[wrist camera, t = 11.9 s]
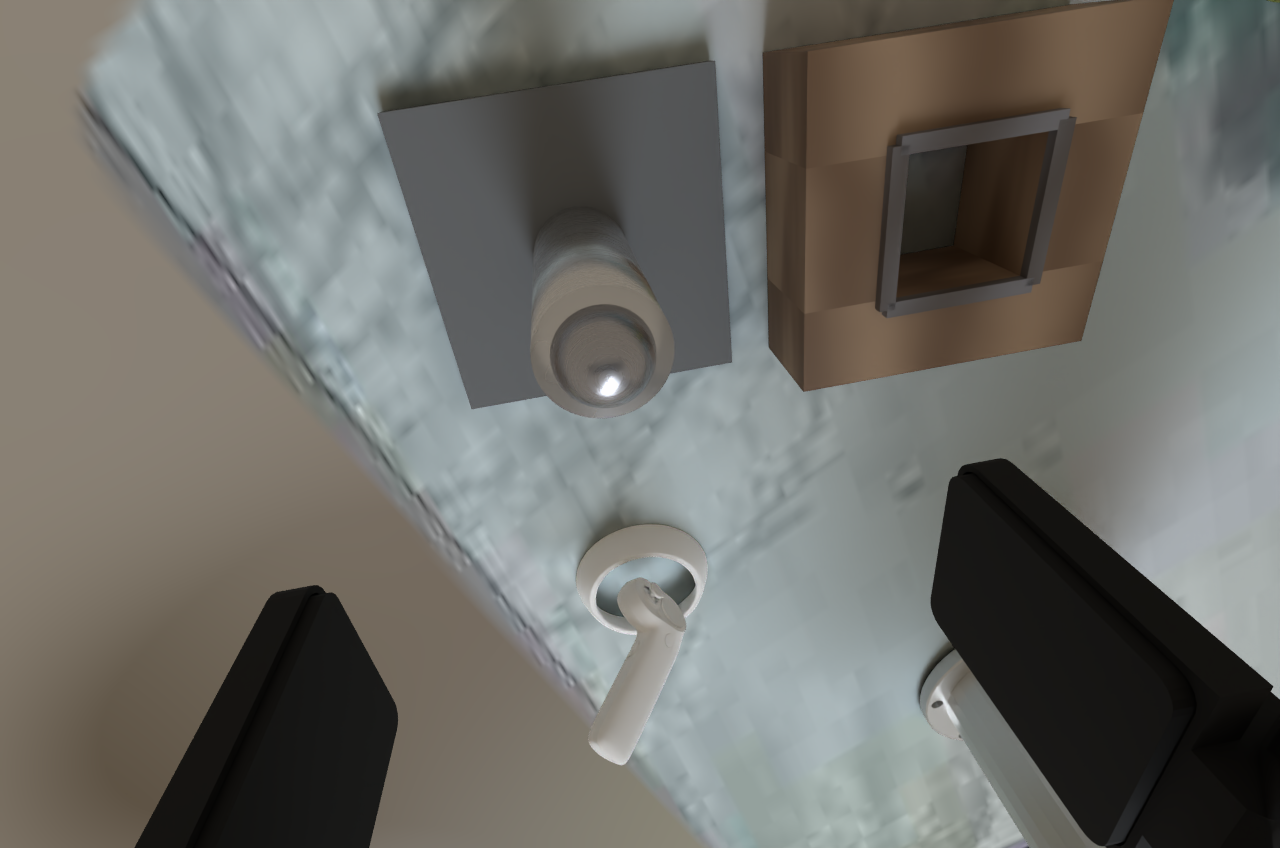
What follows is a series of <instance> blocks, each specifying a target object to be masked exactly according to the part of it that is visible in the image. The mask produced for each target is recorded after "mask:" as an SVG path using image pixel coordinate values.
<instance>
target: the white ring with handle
mask: <svg viewBox="0 0 1280 848" xmlns="http://www.w3.org/2000/svg"><path fill="white" fill-rule="evenodd" d="M644 557H662V558H668V559H671V560H674V561H676V562H678V563H680V564H682V565H683V566H685V567H686V568H687V569H688V570H689V571H690V572H691V574H692V576H693V577H694V580H695V584H696V585H695V588H694V590H693V591H692V592H691V593H690V595H689V596H688V597H687V598H686V599H685V600H683V601H682V602H681V603H680V604H678V605H677V604H676V603H675V601H674V600H673V599H672V598H671V597H670V596H669V595H667V594H666V593H664V592H663V591H662V590H661V588H660V587H659V586H658V585H657V584H656V583H650V582H649V581H648V580H646V579H644V578H636V579H634V580H631V581H629V582H627V583H626V584H625V585H624V586H623V587H622V589H621V590H620V592H619V594H618V596H617V602H618V606H619V608H620V610H621V612H622V614H623V616H624V617H620V616H616V615H613V614H609V613H607V612H605V611H603V610H601V609H600V608H599V607H597V605H596V593H597V590H598V587H599V585H600V583H601V582H602V580H603V579H604V577H605V576H606V575H607V574H608V573H610V572H611V571H612V570H613V569H615V568H616V567H618V566H619V565H621V564H624V563H626V562H628V561H631V560H634V559H638V558H644ZM707 567H708V563H707V559H706V555H705V552H704V551H703V549H702V547H701V546H700V544H699V543H698V542H697V541H696V540H695V539H694V538H693V537H692V536H690V535H688V534H687V533H685V532H684V531H681V530H679V529H676V528H674V527H670V526H665V525H659V524H643V525H636V526H630V527H627V528H623V529H620V530H617V531H615V532H613V533H611V534H609V535H607V536H605V537H604V538H602V539H601V540H599V541H598V542H596V543H595V544H594V545H593V546H592V547H591V548H590V549H589V550H588V551H587V553H586V554H585V555H584V557H583V558H582V560H581V562H580V564H579V567H578V569H577V575H576V585H577V591H578V593H579V595H580V598H581V600H582V602H583V603H584V605H585V606H586V608H587V609H588V610H589V611H590V613H591V614H592V615H593V616H594V617H595V618H596V619H597V620H598V621H599V622H600V623H601V624H603V625H604V626H605V627H607V628H609V629H611V630H613V631H616V632H620V633H623V634H630V635H637V637H636V640H635V642H634V644H633V646H632V648H631V650H630V652H629V654H628V656H627V658H626V660H625V662H624V663H623V665H622V667H621V669H620V671H619V673H618V675H617V677H616V679H615V681H614V683H613V685H612V687H611V689H610V691H609V693H608V695H607V697H606V699H605V701H604V702H603V704H602V706H601V708H600V710H599V712H598V714H597V716H596V718H595V720H594V723H593V725H592V727H591V729H590V732H589V736H588V741H589V744H590V746H591V747H592V748H593V749H594V750H595V751H596V752H597V753H598V754H599V755H601V756H602V757H603V758H605V759H607V760H609V761H611V762H614V763H616V764H619V765H623V764H625V763H626V762H627V761H628V759H629V758H630V756H631V754H632V752H633V750H634V748H635V746H636V744H637V742H638V740H639V738H640V736H641V734H642V731H643V729H644V727H645V725H646V723H647V721H648V718H649V716H650V714H651V712H652V710H653V708H654V705H655V703H656V701H657V699H658V697H659V694H660V692H661V690H662V688H663V686H664V684H665V681H666V679H667V677H668V675H669V673H670V671H671V668H672V666H673V664H674V662H675V660H676V657H677V655H678V652H679V649H680V645H681V641H682V637H683V635H684V632H685V630H686V621H685V618H686V617H688V616H689V615H690V614H691V613H692V611H693V610H694V609H695V608H696V606H697V604H698V602H699V601H700V599H701V596H702V594H703V591H704V587H705V583H706V579H707Z"/></svg>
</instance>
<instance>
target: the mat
mask: <svg viewBox="0 0 1280 848" xmlns="http://www.w3.org/2000/svg"><path fill="white" fill-rule="evenodd" d="M377 114H378V117H379V120H380V123H381V127H382V130H383V133H384V136H385V139H386V142H387V145H388V148H389V152H390V155H391V158H392V161H393V164H394V167H395V170H396V174H397V177H398V180H399V183H400V186H401V189H402V192H403V195H404V199H405V202H406V205H407V208H408V211H409V214H410V217H411V221H412V224H413V227H414V230H415V233H416V236H417V239H418V242H419V246H420V249H421V252H422V255H423V258H424V261H425V264H426V268H427V271H428V274H429V277H430V280H431V283H432V286H433V289H434V293H435V296H436V299H437V302H438V305H439V308H440V311H441V315H442V318H443V321H444V324H445V327H446V330H447V333H448V336H449V340H450V343H451V346H452V349H453V352H454V355H455V358H456V362H457V365H458V368H459V371H460V374H461V377H462V380H463V384H464V387H465V390H466V393H467V396H468V399H469V402H470V405H471V409H476V408H481V407H487V406H492V405H498V404H503V403H509V402H514V401H520V400H526V399H531V398H537V397H542V396H547V395H546V394H545V393H544V392H543V390H542V389H541V387H540V386H539V384H538V382H537V380H536V378H535V376H534V373H533V370H532V365H531V358H530V345H531V314H532V283H533V253H534V244H535V240H536V237H537V234H538V232H539V230H540V229H541V227H542V226H543V224H544V223H545V222H546V221H547V220H548V219H549V218H550V217H551V216H553V215H554V214H555V213H557V212H559V211H561V210H564V209H566V208H570V207H577V206H583V207H590V208H594V209H597V210H600V211H602V212H604V213H605V214H607V215H608V216H610V217H611V218H612V219H613V220H614V221H615V222H616V223H617V224H618V226H619V227H620V228H621V230H622V232H623V234H624V236H625V238H626V240H627V242H628V244H629V246H630V248H631V250H632V252H633V254H634V256H635V258H636V260H637V262H638V264H639V266H640V268H641V270H642V271H643V273H644V275H645V277H646V279H647V281H648V283H649V285H650V287H651V289H652V291H653V293H654V295H655V297H656V299H657V301H658V303H659V305H660V307H661V309H662V311H663V313H664V315H665V317H666V319H667V321H668V323H669V325H670V328H671V331H672V334H673V339H674V350H675V352H674V361H673V365H672V369H671V371H670V373H675V372H681V371H686V370H692V369H697V368H703V367H708V366H714V365H719V364H725V363H731V362H732V352H731V334H730V317H729V299H728V281H727V264H726V246H725V228H724V210H723V193H722V175H721V157H720V139H719V122H718V104H717V86H716V69H715V61H705V62H699V63H692V64H686V65H680V66H673V67H667V68H660V69H654V70H647V71H641V72H635V73H628V74H622V75H615V76H609V77H602V78H596V79H590V80H583V81H577V82H570V83H564V84H557V85H551V86H545V87H538V88H532V89H525V90H519V91H512V92H506V93H500V94H493V95H487V96H480V97H474V98H467V99H461V100H455V101H448V102H442V103H435V104H429V105H422V106H416V107H410V108H403V109H397V110H390V111H384V112H380V113H377Z"/></svg>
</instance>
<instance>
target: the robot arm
mask: <svg viewBox="0 0 1280 848" xmlns="http://www.w3.org/2000/svg"><path fill="white" fill-rule="evenodd" d="M931 608H932V612H933V615H934V617H935V620H936V621H937V623H938V625H939V626H940V628H941V629H942V630H943V632H944V633H945V635H946V636H947V638H948V639H949V641H950V642H951V643H952V645H953V646H954V648H955V649H954V650H953V651H952V652H950V653H949V654H948V655H947V656H946V657H945V658H943V659H942V660H941V661H940V662H939V663H938V664H937V665H936V667H935V668H934V669H933V671H932V672H931V673H930V674H929V676H928V678H927V679H926V681H925V683H924V685H923V687H922V691H921V695H920V708H921V710H922V713H923V715H924V717H925V718H926V720H927V722H928V723H929V725H930V726H931V728H932V729H933V730H935V731H936V732H937V733H938V734H940V735H943V736H945V737H947V738H950V739H956V740H961V741H964V742H965V744H966V745H967V747H968V748H969V750H970V752H971V753H972V755H973V756H974V758H975V760H976V761H977V763H978V765H979V766H980V768H981V769H982V771H983V773H984V774H985V776H986V777H987V779H988V781H989V782H990V784H991V786H992V787H993V789H994V790H995V792H996V794H997V795H998V797H999V799H1000V800H1001V802H1002V803H1003V805H1004V807H1005V808H1006V810H1007V811H1008V813H1009V815H1010V816H1011V818H1012V820H1013V821H1014V823H1015V824H1016V826H1017V828H1018V829H1019V831H1020V833H1021V834H1022V836H1023V837H1024V839H1025V841H1026V842H1027V844H1028V845H1029V847H1030V848H1280V699H1278V698H1277V697H1276V696H1275V695H1274V694H1273V693H1272V692H1270V691H1271V690H1272V688H1273V686H1272V685H1271V684H1270V683H1269V682H1268V681H1266V680H1265V679H1264V678H1263V677H1262V676H1261V675H1259V674H1258V673H1257V672H1256V671H1255V670H1254V669H1252V668H1251V667H1250V666H1249V665H1248V664H1247V663H1245V662H1244V661H1243V660H1242V659H1241V658H1240V657H1238V656H1237V655H1236V654H1235V653H1234V652H1233V651H1231V650H1230V649H1229V648H1228V647H1227V646H1225V645H1224V644H1223V643H1222V642H1221V641H1220V640H1218V639H1217V638H1216V637H1215V636H1214V635H1213V634H1211V633H1210V632H1209V631H1208V630H1207V629H1206V628H1204V627H1203V626H1202V625H1201V624H1200V623H1199V622H1197V621H1196V620H1195V619H1194V618H1193V617H1192V616H1190V615H1189V614H1188V613H1187V612H1186V611H1185V610H1183V609H1182V608H1181V607H1180V606H1179V605H1178V604H1176V603H1175V602H1174V601H1173V600H1172V599H1170V598H1169V597H1168V596H1167V595H1166V594H1165V593H1163V592H1162V591H1161V590H1160V589H1159V588H1158V587H1156V586H1155V585H1154V584H1153V583H1152V582H1151V581H1149V580H1148V579H1147V578H1146V577H1145V576H1144V575H1142V574H1141V573H1140V572H1139V571H1138V570H1137V569H1135V568H1134V567H1133V566H1132V565H1131V564H1130V563H1128V562H1127V561H1126V560H1125V559H1124V558H1123V557H1121V556H1120V555H1119V554H1118V553H1117V552H1116V551H1114V550H1113V549H1112V548H1111V547H1110V546H1108V545H1107V544H1106V543H1105V542H1104V541H1103V540H1101V539H1100V538H1099V537H1098V536H1097V535H1096V534H1094V533H1093V532H1092V531H1091V530H1090V529H1089V528H1087V527H1086V526H1085V525H1084V524H1083V523H1082V522H1080V521H1079V520H1078V519H1077V518H1076V517H1075V516H1073V515H1072V514H1071V513H1070V512H1069V511H1068V510H1066V509H1065V508H1064V507H1063V506H1062V505H1061V504H1059V503H1058V502H1057V501H1056V500H1055V499H1053V498H1052V497H1051V496H1050V495H1049V494H1048V493H1046V492H1045V491H1044V490H1043V489H1042V488H1041V487H1039V486H1038V485H1037V484H1036V483H1035V482H1034V481H1032V480H1031V479H1030V478H1029V477H1028V476H1027V475H1025V474H1024V473H1023V472H1022V471H1021V470H1020V469H1018V468H1017V467H1016V466H1015V465H1014V464H1013V463H1011V462H1010V461H1008V460H1006V459H1002V458H999V459H994V460H988V461H983V462H978V463H972V464H967V465H964V466H962V467H961V468H960V470H959V472H958V475H957V476H955V477H952V479H951V480H950V482H949V486H948V492H947V499H946V505H945V511H944V518H943V524H942V530H941V537H940V543H939V549H938V556H937V562H936V569H935V575H934V581H933V588H932V594H931ZM397 725H398V713H397V708H396V705H395V702H394V701H393V698H392V697H391V695H390V693H389V691H388V689H387V687H386V686H385V684H384V682H383V680H382V678H381V676H380V675H379V672H378V671H377V669H376V667H375V665H374V664H373V662H372V660H371V658H370V656H369V654H368V652H367V651H366V649H365V647H364V645H363V643H362V641H361V639H360V638H359V636H358V634H357V632H356V630H355V628H354V626H353V625H352V623H351V621H350V619H349V617H348V615H347V614H346V612H345V610H344V608H343V606H342V604H341V602H340V601H339V599H338V597H337V596H336V595H335V594H334V593H326V592H325V591H324V590H323V588H321V587H319V586H318V585H313V586H307V587H302V588H297V589H291V590H286V591H281V592H276V593H275V594H273V595H271V596H270V598H269V599H268V600H267V602H266V604H265V606H264V608H263V609H262V611H261V613H260V615H259V617H258V619H257V621H256V623H255V624H254V626H253V628H252V630H251V632H250V634H249V636H248V638H247V639H246V641H245V643H244V645H243V647H242V649H241V650H240V652H239V654H238V656H237V658H236V660H235V662H234V664H233V665H232V667H231V669H230V671H229V673H228V675H227V677H226V679H225V680H224V682H223V684H222V686H221V688H220V690H219V691H218V693H217V695H216V697H215V699H214V701H213V703H212V704H211V706H210V708H209V710H208V712H207V714H206V716H205V718H204V719H203V721H202V723H201V725H200V727H199V729H198V730H197V732H196V734H195V736H194V739H193V740H192V742H191V743H190V745H189V747H188V749H187V751H186V753H185V755H184V757H183V759H182V760H181V762H180V764H179V766H178V768H177V770H176V771H175V774H174V775H173V777H172V779H171V781H170V783H169V784H168V786H167V788H166V790H165V792H164V794H163V796H162V797H161V799H160V801H159V803H158V805H157V807H156V809H155V811H154V812H153V814H152V816H151V818H150V820H149V822H148V824H147V825H146V827H145V829H144V831H143V833H142V835H141V837H140V839H139V840H138V842H137V844H136V846H135V848H369V846H370V841H371V837H372V833H373V829H374V825H375V821H376V816H377V812H378V808H379V803H380V799H381V795H382V791H383V787H384V782H385V778H386V774H387V770H388V765H389V761H390V757H391V753H392V748H393V744H394V739H395V736H396V731H397Z"/></svg>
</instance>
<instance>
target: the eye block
mask: <svg viewBox="0 0 1280 848" xmlns="http://www.w3.org/2000/svg"><path fill="white" fill-rule="evenodd" d="M1173 1H1174V0H1111V1H1101V2H1092V3H1082V4H1072V5H1065V6H1059V7H1052V8H1046V9H1040V10H1033V11H1027V12H1020V13H1014V14H1007V15H1001V16H995V17H988V18H982V19H975V20H969V21H962V22H956V23H950V24H943V25H937V26H930V27H924V28H917V29H911V30H905V31H898V32H892V33H885V34H879V35H872V36H866V37H860V38H853V39H847V40H840V41H834V42H827V43H821V44H815V45H808V46H802V47H795V48H789V49H782V50H776V51H770V52H763V88H764V136H765V183H766V231H767V279H768V326H769V348H770V350H771V351H772V352H773V353H774V355H775V356H776V357H777V359H778V360H779V361H780V362H781V364H782V365H783V366H784V367H785V369H786V370H787V371H788V373H789V374H790V375H791V376H792V378H793V379H794V380H795V381H796V383H797V384H798V385H799V387H800V388H801V389H802V390H803V392H805V391H810V390H816V389H821V388H827V387H832V386H838V385H843V384H849V383H854V382H859V381H865V380H870V379H876V378H881V377H887V376H892V375H897V374H903V373H908V372H914V371H919V370H925V369H930V368H935V367H941V366H946V365H952V364H957V363H963V362H968V361H974V360H979V359H984V358H990V357H995V356H1001V355H1006V354H1012V353H1017V352H1022V351H1028V350H1033V349H1039V348H1044V347H1050V346H1055V345H1060V344H1066V343H1071V342H1077V341H1081V340H1082V337H1083V333H1084V329H1085V325H1086V322H1087V318H1088V314H1089V311H1090V307H1091V303H1092V300H1093V296H1094V292H1095V289H1096V285H1097V281H1098V278H1099V274H1100V270H1101V266H1102V263H1103V259H1104V255H1105V252H1106V248H1107V244H1108V241H1109V237H1110V233H1111V230H1112V226H1113V222H1114V219H1115V215H1116V211H1117V207H1118V204H1119V200H1120V196H1121V193H1122V189H1123V185H1124V182H1125V178H1126V174H1127V171H1128V167H1129V163H1130V160H1131V156H1132V152H1133V148H1134V145H1135V141H1136V137H1137V134H1138V130H1139V126H1140V123H1141V119H1142V115H1143V112H1144V108H1145V104H1146V101H1147V97H1148V93H1149V89H1150V86H1151V82H1152V78H1153V75H1154V71H1155V67H1156V64H1157V60H1158V56H1159V53H1160V49H1161V45H1162V42H1163V38H1164V34H1165V30H1166V27H1167V23H1168V19H1169V16H1170V12H1171V8H1172V5H1173ZM963 145H967V152H966V159H965V167H964V174H963V181H962V188H961V195H960V202H959V210H958V217H957V224H956V231H955V238H954V245H953V246H948V247H942V248H936V249H930V250H925V251H919V252H913V253H908V254H902V255H900V252H901V241H902V230H903V220H904V209H905V199H906V188H907V177H908V167H909V156H910V154H915V153H921V152H927V151H933V150H939V149H945V148H951V147H957V146H963Z"/></svg>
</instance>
